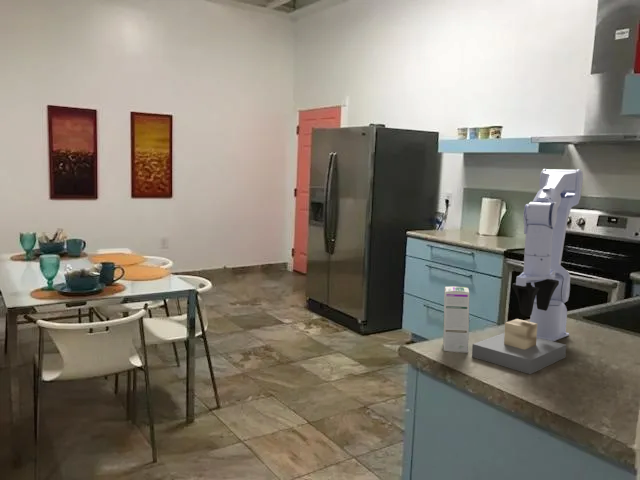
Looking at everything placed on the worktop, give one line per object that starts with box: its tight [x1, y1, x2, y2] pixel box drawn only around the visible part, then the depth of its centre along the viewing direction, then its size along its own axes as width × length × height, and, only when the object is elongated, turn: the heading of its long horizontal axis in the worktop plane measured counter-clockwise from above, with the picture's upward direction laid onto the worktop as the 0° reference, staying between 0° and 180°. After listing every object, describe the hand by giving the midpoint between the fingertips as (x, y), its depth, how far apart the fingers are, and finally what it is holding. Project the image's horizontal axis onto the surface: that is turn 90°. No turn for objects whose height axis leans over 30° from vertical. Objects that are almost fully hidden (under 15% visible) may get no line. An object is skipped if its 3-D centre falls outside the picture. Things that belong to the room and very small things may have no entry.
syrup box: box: [442, 285, 471, 354], centre depth 130 cm, size 6×6×14 cm
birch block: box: [504, 318, 537, 350], centre depth 125 cm, size 5×5×5 cm
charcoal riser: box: [471, 332, 567, 375], centre depth 125 cm, size 16×14×3 cm
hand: (534, 312), depth 128 cm, fingers open, 7 cm apart
